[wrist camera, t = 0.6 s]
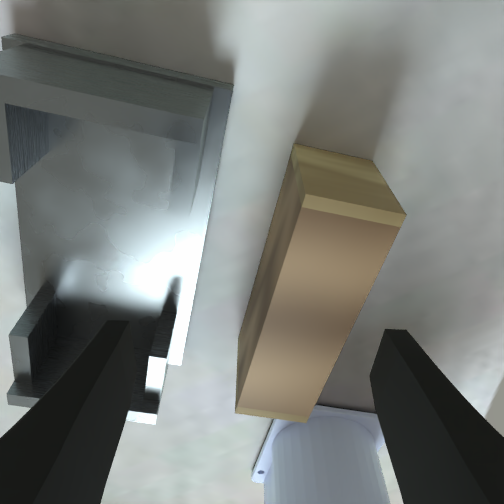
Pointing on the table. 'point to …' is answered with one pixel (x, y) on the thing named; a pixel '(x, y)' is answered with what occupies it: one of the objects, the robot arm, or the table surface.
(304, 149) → the brown wooden block
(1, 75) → the brackets
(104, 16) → the table surface
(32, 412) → the robot arm
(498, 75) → the table surface
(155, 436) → the table surface
